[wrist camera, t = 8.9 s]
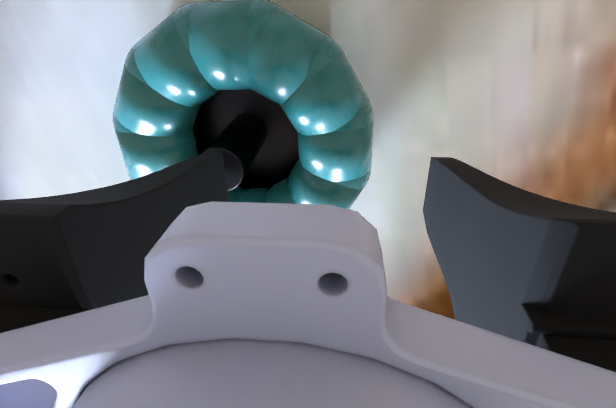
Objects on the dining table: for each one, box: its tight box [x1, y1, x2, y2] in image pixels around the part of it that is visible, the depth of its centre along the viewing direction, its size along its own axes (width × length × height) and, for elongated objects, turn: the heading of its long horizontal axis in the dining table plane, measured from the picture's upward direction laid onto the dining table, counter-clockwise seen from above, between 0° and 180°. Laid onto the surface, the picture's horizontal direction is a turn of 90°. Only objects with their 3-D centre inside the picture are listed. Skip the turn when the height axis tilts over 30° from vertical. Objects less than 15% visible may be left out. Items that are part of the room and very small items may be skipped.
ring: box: [113, 0, 373, 210], centre depth 16 cm, size 11×11×3 cm
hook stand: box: [193, 89, 299, 191], centre depth 16 cm, size 8×8×6 cm
